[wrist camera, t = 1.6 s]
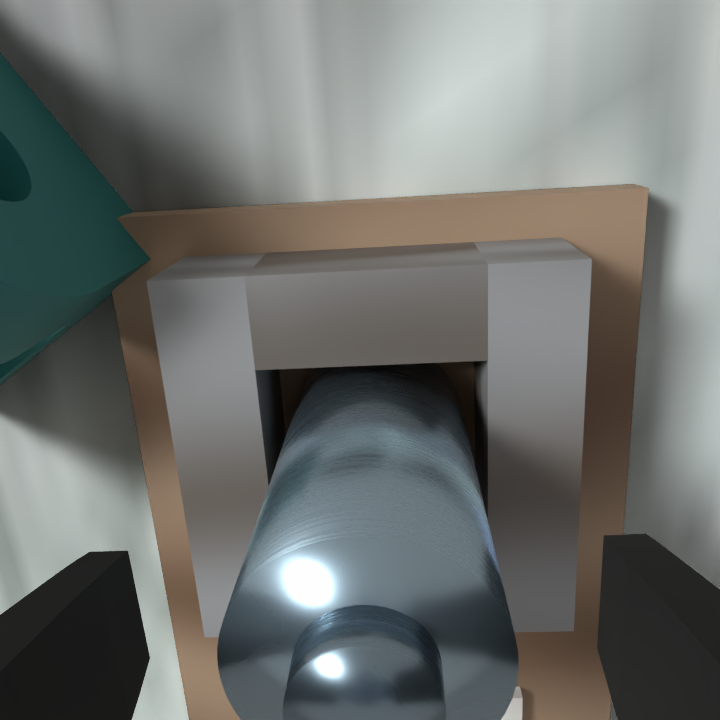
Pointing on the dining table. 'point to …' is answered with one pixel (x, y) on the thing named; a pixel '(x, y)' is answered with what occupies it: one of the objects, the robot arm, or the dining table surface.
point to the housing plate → (414, 217)
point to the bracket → (51, 229)
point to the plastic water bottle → (371, 563)
